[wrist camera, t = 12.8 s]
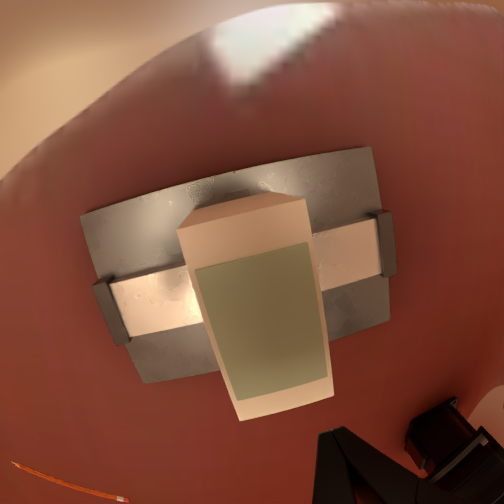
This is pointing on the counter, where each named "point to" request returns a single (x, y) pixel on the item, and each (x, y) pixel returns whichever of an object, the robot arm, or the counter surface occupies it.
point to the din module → (260, 300)
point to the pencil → (72, 484)
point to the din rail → (176, 273)
